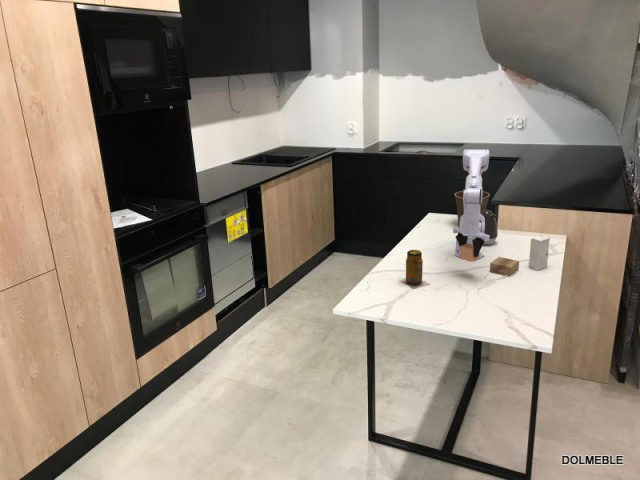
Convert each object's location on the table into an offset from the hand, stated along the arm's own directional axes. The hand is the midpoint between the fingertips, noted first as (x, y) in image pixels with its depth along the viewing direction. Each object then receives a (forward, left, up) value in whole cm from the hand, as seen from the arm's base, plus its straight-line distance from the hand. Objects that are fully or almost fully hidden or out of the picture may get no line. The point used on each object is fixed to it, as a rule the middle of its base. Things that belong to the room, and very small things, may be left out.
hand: (469, 254), depth 189 cm
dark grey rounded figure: (-16, +35, -9) cm, 39 cm away
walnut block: (+7, +13, -9) cm, 17 cm away
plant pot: (-35, +51, -9) cm, 62 cm away
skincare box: (+14, +25, -9) cm, 30 cm away
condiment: (-10, -19, -9) cm, 23 cm away
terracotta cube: (0, 0, -1) cm, 1 cm away
